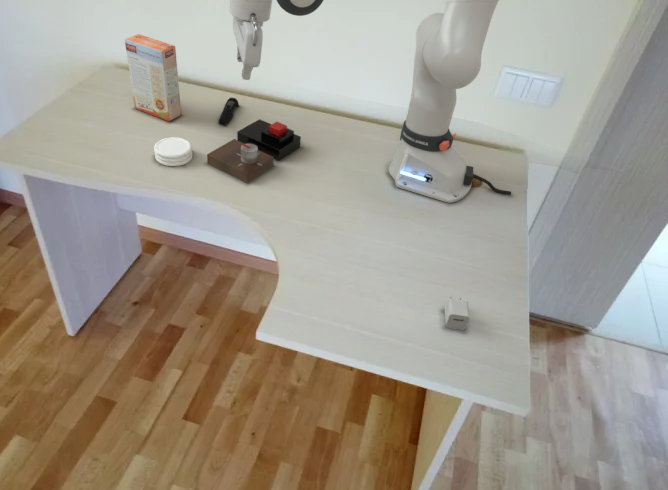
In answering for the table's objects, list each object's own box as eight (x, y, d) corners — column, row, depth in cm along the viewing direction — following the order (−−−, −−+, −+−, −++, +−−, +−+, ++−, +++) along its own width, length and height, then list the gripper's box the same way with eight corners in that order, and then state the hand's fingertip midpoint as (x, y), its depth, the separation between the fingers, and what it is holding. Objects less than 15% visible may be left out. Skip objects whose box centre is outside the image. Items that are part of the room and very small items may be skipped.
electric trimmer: (215, 127, 159) (214, 117, 157) (227, 103, 170) (227, 94, 168) (227, 129, 159) (227, 119, 156) (239, 105, 170) (239, 96, 167)
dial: (260, 159, 142) (261, 146, 139) (250, 165, 139) (250, 153, 137) (248, 153, 144) (248, 140, 141) (237, 159, 141) (237, 147, 138)
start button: (286, 132, 149) (287, 125, 148) (278, 137, 147) (279, 130, 145) (276, 128, 150) (276, 121, 149) (268, 132, 148) (268, 125, 147)
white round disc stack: (199, 153, 148) (199, 142, 145) (179, 171, 141) (178, 159, 138) (169, 144, 150) (167, 132, 148) (147, 160, 144) (146, 149, 141)
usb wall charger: (444, 327, 107) (450, 313, 104) (443, 302, 112) (448, 289, 109) (464, 330, 107) (470, 316, 104) (462, 305, 112) (468, 292, 109)
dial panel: (274, 167, 145) (274, 156, 143) (248, 184, 139) (248, 173, 136) (234, 148, 151) (234, 138, 149) (207, 164, 144) (206, 153, 142)
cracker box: (182, 115, 163) (176, 45, 148) (169, 122, 159) (161, 51, 144) (148, 101, 168) (138, 32, 153) (134, 108, 164) (123, 38, 149)
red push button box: (299, 147, 153) (301, 130, 150) (278, 161, 147) (279, 143, 144) (259, 130, 159) (259, 112, 155) (237, 142, 153) (237, 125, 149)
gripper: (272, 26, 109) (262, 91, 118) (258, -8, 123) (250, 53, 132) (241, 22, 107) (234, 88, 117) (231, -11, 121) (225, 50, 131)
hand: (243, 69), depth 125 cm, fingers open, 8 cm apart
